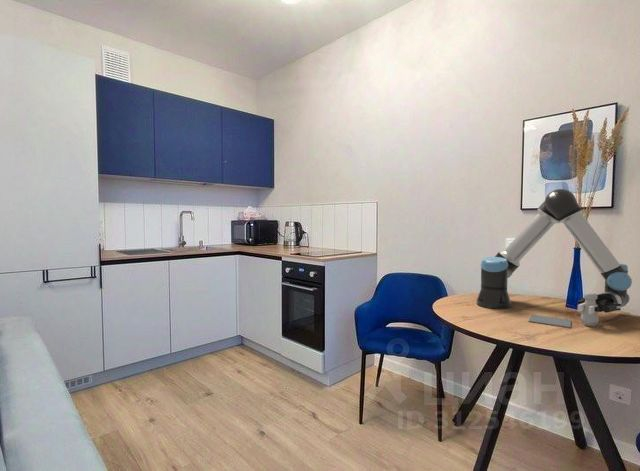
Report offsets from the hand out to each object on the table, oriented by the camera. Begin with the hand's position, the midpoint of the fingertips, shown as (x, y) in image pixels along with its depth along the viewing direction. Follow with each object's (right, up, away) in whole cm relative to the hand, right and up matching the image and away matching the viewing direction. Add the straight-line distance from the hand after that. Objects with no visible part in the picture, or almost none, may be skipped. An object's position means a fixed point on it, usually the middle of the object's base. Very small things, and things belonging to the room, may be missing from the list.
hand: (584, 309), depth 134 cm
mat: (-8, -7, +9) cm, 13 cm away
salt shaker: (+5, -7, +3) cm, 9 cm away
